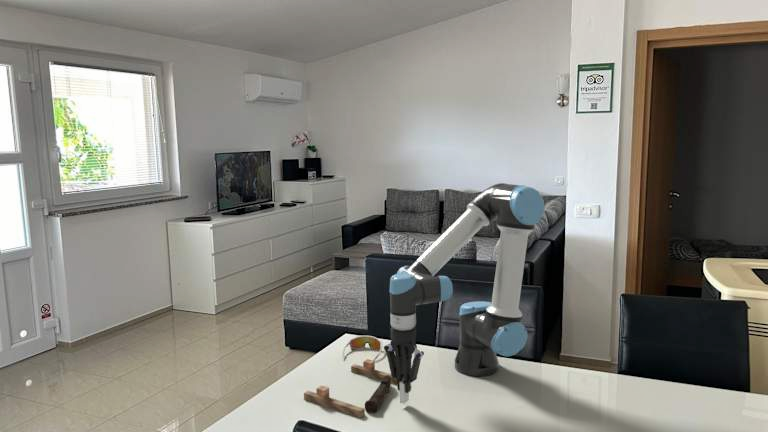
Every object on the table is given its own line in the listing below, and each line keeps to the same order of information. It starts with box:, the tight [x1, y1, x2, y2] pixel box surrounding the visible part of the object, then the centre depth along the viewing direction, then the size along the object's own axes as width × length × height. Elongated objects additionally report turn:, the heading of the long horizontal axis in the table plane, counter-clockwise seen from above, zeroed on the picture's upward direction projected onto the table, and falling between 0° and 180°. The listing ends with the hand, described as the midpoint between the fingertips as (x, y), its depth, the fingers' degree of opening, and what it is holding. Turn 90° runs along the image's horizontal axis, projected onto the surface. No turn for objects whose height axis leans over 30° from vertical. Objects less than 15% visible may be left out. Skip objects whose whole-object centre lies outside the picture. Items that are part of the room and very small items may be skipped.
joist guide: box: [303, 358, 404, 419], centre depth 182 cm, size 22×26×5 cm
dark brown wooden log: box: [364, 375, 392, 414], centre depth 177 cm, size 19×4×5 cm, turn 160°
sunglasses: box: [342, 335, 383, 362], centre depth 213 cm, size 14×15×5 cm
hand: (404, 401), depth 172 cm, fingers closed
